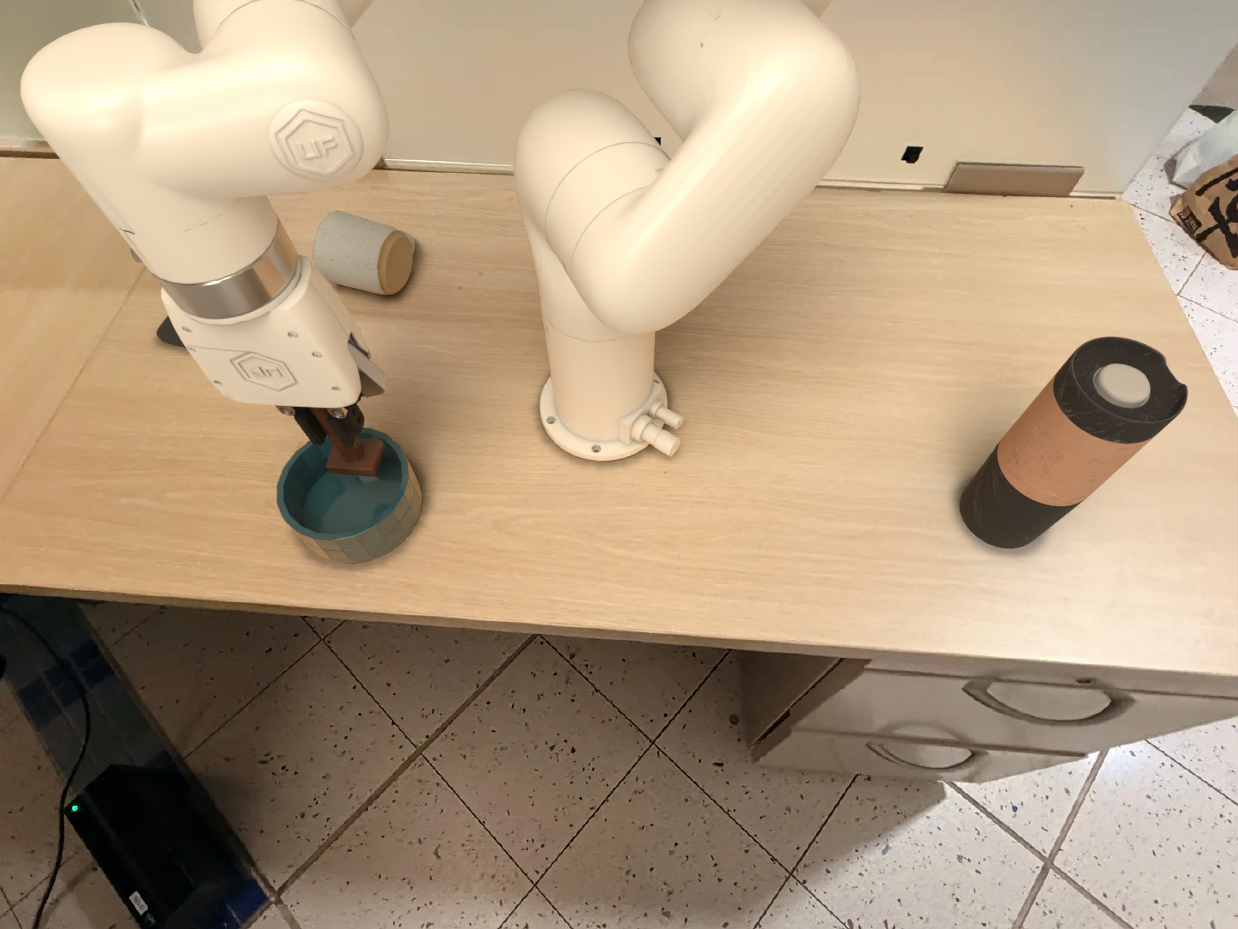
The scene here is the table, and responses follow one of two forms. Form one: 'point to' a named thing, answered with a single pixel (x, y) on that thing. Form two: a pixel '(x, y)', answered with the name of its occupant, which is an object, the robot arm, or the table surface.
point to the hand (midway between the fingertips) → (338, 430)
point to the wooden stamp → (350, 451)
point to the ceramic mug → (363, 253)
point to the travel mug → (1072, 439)
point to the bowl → (349, 502)
